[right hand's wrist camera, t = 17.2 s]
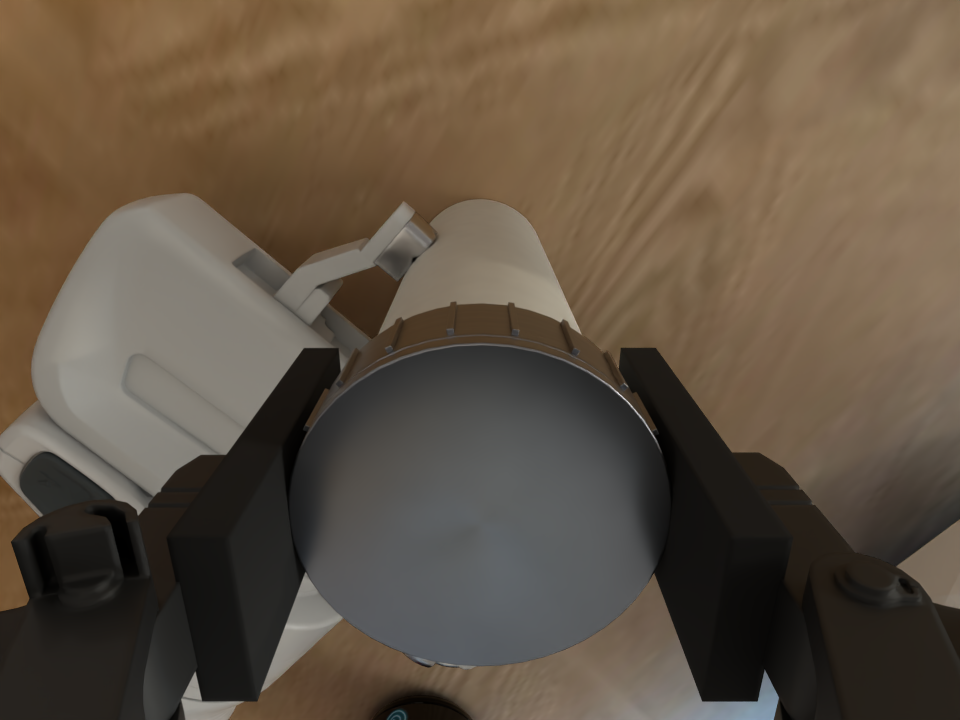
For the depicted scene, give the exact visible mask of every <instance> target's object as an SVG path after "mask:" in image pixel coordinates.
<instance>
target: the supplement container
mask: <svg viewBox="0 0 960 720" xmlns="http://www.w3.org/2000/svg"><path fill="white" fill-rule="evenodd" d="M372 720H472V718H471V717H470V716H469V715H468V714H467V713H466V712H465V711H464V710H463V709H462V708H460V707H459V706H458V705H456V704H454V703H452V702H450V701H448V700H446V699H443V698H439V697H434V696H426V695H417V696H409V697H404V698H401V699H398V700H396V701H394V702H392V703H390V704H388V705H386V706H385V707H383V708H382V709H381V710H380V711H379V712H378V713H377V714H376V715H375V716H374V717H373V718H372Z"/></svg>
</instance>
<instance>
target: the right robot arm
mask: <svg viewBox="0 0 960 720" xmlns="http://www.w3.org/2000/svg"><path fill="white" fill-rule="evenodd" d="M619 371H620V373H621V374H622V376H623V378H624V380H625V382H626V383H627V385H628V387H629V388H630V390H631V392H632V394H633V393H635V392H637V394H638V396H639V398H640V399H641V401H642V403H643V405H644V407H645V408H646V410H647V412H648V414H649V416H650V418H651V419H652V421H653V423H654V425H655V427H656V428H657V431H658V433H659V434H658V435H655V437H656V439H657V441H658V444H659V446H660V449H661V451H662V453H663V456H664V458H665V461H666V465H667V469H668V473H669V477H670V481H671V492H672V508H671V517H670V525H669V532H668V539H667V543H666V546H665V549H664V552H663V554H662V557H661V559H660V562H659V564H658V566H657V568H656V570H655V572H654V573H655V576H656V579H657V581H658V584H659V587H660V589H661V592H662V595H663V597H664V600H665V603H666V605H667V608H668V611H669V613H670V616H671V619H672V621H673V624H674V627H675V629H676V632H677V635H678V637H679V640H680V643H681V645H682V648H683V651H684V653H685V656H686V659H687V662H688V664H689V667H690V670H691V672H692V675H693V678H694V680H695V683H696V686H697V688H698V691H699V694H700V696H701V699H702V701H758V697H759V692H760V688H761V683H762V679H763V674H764V670H765V671H766V673H767V674H768V676H769V678H770V680H771V682H772V684H773V686H774V688H775V690H776V692H777V694H778V696H779V700H778V705H777V709H776V713H775V717H774V720H960V609H958V608H953V607H949V606H944V605H940V604H937V603H933V602H932V600H931V598H930V597H929V595H928V594H927V593H926V591H925V590H924V589H923V587H922V586H921V585H920V583H919V582H917V581H916V580H915V579H913V578H912V577H911V576H909V575H908V574H907V573H905V572H904V571H903V570H901V569H899V568H897V567H895V566H893V565H891V564H889V563H887V562H884V561H882V560H880V559H877V558H874V557H870V556H866V555H863V554H859V553H855V552H854V551H853V550H852V549H851V547H850V546H849V545H848V544H847V543H846V541H845V540H844V539H843V538H842V537H841V535H840V534H839V533H838V532H837V531H836V530H835V528H834V527H833V526H832V525H831V524H830V522H829V521H828V520H827V519H826V518H825V516H824V515H823V514H822V513H821V512H820V510H819V509H818V508H817V507H816V506H815V505H812V501H811V500H810V499H809V497H808V496H807V495H806V494H805V493H804V491H803V490H799V485H798V484H797V483H796V482H795V481H794V480H793V478H792V477H791V476H790V475H789V474H788V472H787V471H786V470H785V469H784V468H783V467H781V466H780V465H778V464H777V463H775V462H773V461H772V460H770V459H769V458H767V457H765V456H764V455H762V454H761V453H732V452H731V451H730V449H729V448H728V447H727V445H726V444H725V443H724V441H723V440H722V438H721V437H720V436H719V434H718V433H717V432H716V430H715V429H714V427H713V426H712V425H711V423H710V422H709V421H708V419H707V418H706V416H705V415H704V414H703V412H702V411H701V410H700V408H699V407H698V405H697V404H696V403H695V401H694V400H693V399H692V397H691V396H690V394H689V393H688V392H687V390H686V389H685V388H684V386H683V385H682V383H681V382H680V381H679V379H678V378H677V377H676V375H675V374H674V372H673V371H672V370H671V368H670V367H669V366H668V364H667V363H666V361H665V360H664V359H663V357H662V356H661V355H660V353H659V352H658V350H657V349H656V348H621V351H620V363H619ZM340 372H341V368H340V356H339V348H303V350H302V351H301V353H300V354H299V355H298V357H297V358H296V359H295V361H294V362H293V364H292V365H291V366H290V368H289V369H288V370H287V372H286V373H285V375H284V376H283V377H282V379H281V380H280V381H279V383H278V384H277V386H276V387H275V388H274V390H273V391H272V393H271V394H270V395H269V397H268V398H267V399H266V401H265V402H264V404H263V405H262V406H261V408H260V409H259V410H258V412H257V413H256V415H255V416H254V417H253V419H252V420H251V421H250V423H249V424H248V426H247V427H246V428H245V430H244V431H243V432H242V434H241V435H240V437H239V438H238V439H237V441H236V442H235V443H234V445H233V446H232V448H231V449H230V450H229V452H228V453H227V454H226V455H200V456H198V457H196V458H195V459H193V460H192V461H190V462H188V463H187V464H185V465H184V466H182V467H180V468H179V469H177V470H176V471H175V472H174V473H173V475H172V476H171V477H170V478H169V479H168V481H167V482H166V483H165V484H164V485H163V487H162V488H161V492H158V493H157V494H156V495H155V496H154V497H153V499H152V500H151V501H150V502H149V503H148V508H144V509H143V511H142V512H141V513H140V514H139V515H138V513H137V510H136V509H135V508H134V507H132V506H131V505H130V504H128V503H127V502H122V501H117V500H112V499H106V500H90V501H85V502H81V503H77V504H73V505H69V506H65V507H62V508H60V509H58V510H55V511H53V512H51V513H48V514H46V515H43V516H41V517H40V518H38V519H37V520H35V521H34V522H32V523H31V524H29V525H28V526H26V527H24V528H23V529H22V530H21V531H20V532H19V534H18V535H17V536H16V537H15V538H14V539H13V540H12V541H11V543H12V547H13V550H14V553H15V556H16V559H17V562H18V565H19V568H20V571H21V574H22V577H23V580H24V583H25V586H26V589H27V592H28V595H29V598H30V599H29V601H28V603H27V605H26V606H23V607H19V608H15V609H11V610H6V611H1V612H0V720H185V714H184V709H183V705H182V700H181V699H182V697H183V695H184V693H185V691H186V689H187V687H188V685H189V683H190V681H191V679H192V677H193V675H194V673H195V672H196V676H197V681H198V685H199V690H200V694H201V699H202V701H258V698H259V695H260V693H261V690H262V687H263V685H264V682H265V679H266V677H267V674H268V671H269V668H270V666H271V663H272V660H273V658H274V655H275V652H276V650H277V647H278V644H279V642H280V639H281V636H282V634H283V631H284V628H285V626H286V623H287V620H288V618H289V615H290V612H291V610H292V607H293V604H294V602H295V599H296V596H297V594H298V591H299V588H300V586H301V583H302V580H303V577H304V575H305V570H304V568H303V566H302V564H301V562H300V560H299V557H298V554H297V552H296V549H295V546H294V543H293V540H292V534H291V528H290V520H289V512H288V492H289V483H290V476H291V472H292V469H293V465H294V462H295V458H296V455H297V453H298V451H299V449H300V446H301V444H302V442H303V440H304V438H305V436H306V434H307V432H306V431H304V430H303V428H304V426H305V424H306V423H307V421H308V419H309V417H310V415H311V413H312V412H313V410H314V408H315V406H316V404H317V402H318V401H319V399H320V397H321V395H322V393H323V391H324V390H325V388H326V389H328V390H330V388H331V386H332V384H333V383H334V381H335V380H336V378H337V377H338V375H339V374H340Z"/></svg>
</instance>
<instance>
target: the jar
mask: <svg viewBox="0 0 960 720" xmlns="http://www.w3.org/2000/svg"><path fill="white" fill-rule="evenodd" d="M430 225H431V226H432V227H433V228H434V229H435V230H436V231H437V232H438V233H437V235H436V238H435V240H434V241H433V243H432V244H431V245H430V246H429V247H428V249H427V250H426V251H425V252H424V253H422V254H421V255H420V256H419V257H415V258H414V260H413V263H412V265H411V266H410V268H409V269H408V271H407V272H406V273H405V275H404V277H403V280H402V282H401V284H400V286H399V289H398V291H397V293H396V295H395V297H394V300H393V302H392V304H391V306H390V309H389V311H388V313H387V315H386V318H385V320H384V322H383V324H382V327H381V329H380V331H379V333H378V334H380V333H382V332H383V331H385V330H386V329H388V328H389V327H391V326H393V325H394V324H395V321H396V319H398V318H400V317H402V319H403V320H405V319H407V318H410V317H412V316H414V315H417V314H420V313H423V312H427V311H430V310H433V309H436V308H442V307H448V306H450V302H455V301H456V302H457V305H459V304H479V303H485V304H498V305H508V302H512V303H515V307H518V308H522V309H527V310H531V311H534V312H537V313H540V314H542V315H545V316H548V317H551V318H553V319H555V320H557V321H559V322H561V321H562V320H563V319H564V320H566V321H568V323H569V325H570V327H571V328H572V329H574V330H575V331H577V332H578V333H580V334H581V332H580V329H579V327H578V325H577V323H576V320H575V318H574V316H573V314H572V312H571V309H570V307H569V305H568V303H567V300H566V298H565V296H564V294H563V291H562V289H561V287H560V285H559V282H558V280H557V278H556V276H555V274H554V271H553V269H552V267H551V265H550V262H549V260H548V258H547V256H546V253H545V251H544V249H543V247H542V244H541V242H540V240H539V238H538V236H537V233H536V231H535V230H534V228H533V227H532V225H531V224H530V223H529V222H528V220H527V219H526V218H525V217H524V216H523V215H522V214H520V213H519V212H518V211H516V210H515V209H513V208H512V207H510V206H508V205H506V204H503V203H500V202H498V201H493V200H487V199H472V200H467V201H462V202H459V203H456V204H454V205H452V206H450V207H448V208H446V209H445V210H443V211H442V212H440V213H439V214H438V215H437V216H436V217H435V218H434V219H433V220H432V221H431V222H430ZM581 335H582V334H581Z"/></svg>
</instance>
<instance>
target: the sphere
mask: <svg viewBox="0 0 960 720" xmlns="http://www.w3.org/2000/svg"><path fill="white" fill-rule="evenodd" d="M896 567H897V568H899V569H901V570H903V571H904V572H905V573H907V574H908V575H909V576H911V577H912V578H913V579H915V580H916V581H917V582H919V583H920V585H921V586H922V587H923V589H924V590H925V591H926V593H927V594H928V595H929V597H930V598H931V600H932V602H933V603H937V604H940V605H944V606H949V607H953V608H958V609H960V520H958V521H957V522H955V523H954V524H953V525H951V526H950V527H949V528H947V529H946V530H945V531H943V532H942V533H941V534H939V535H938V536H937V537H935V538H934V539H933V540H931V541H930V542H929V543H927V544H926V545H924V546H923V547H922V548H920V549H919V550H918V551H916V552H915V553H914V554H912V555H911V556H910V557H908V558H907V559H906V560H904V561H903V562H902V563H900V564H899V565H897V566H896Z"/></svg>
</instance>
